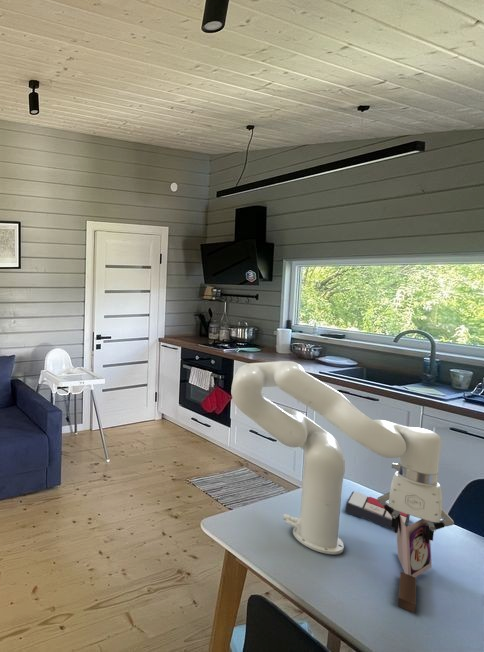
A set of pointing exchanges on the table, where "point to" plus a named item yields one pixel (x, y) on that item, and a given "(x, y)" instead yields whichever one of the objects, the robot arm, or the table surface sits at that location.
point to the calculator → (371, 510)
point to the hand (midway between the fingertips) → (411, 535)
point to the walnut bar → (407, 592)
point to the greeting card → (413, 547)
